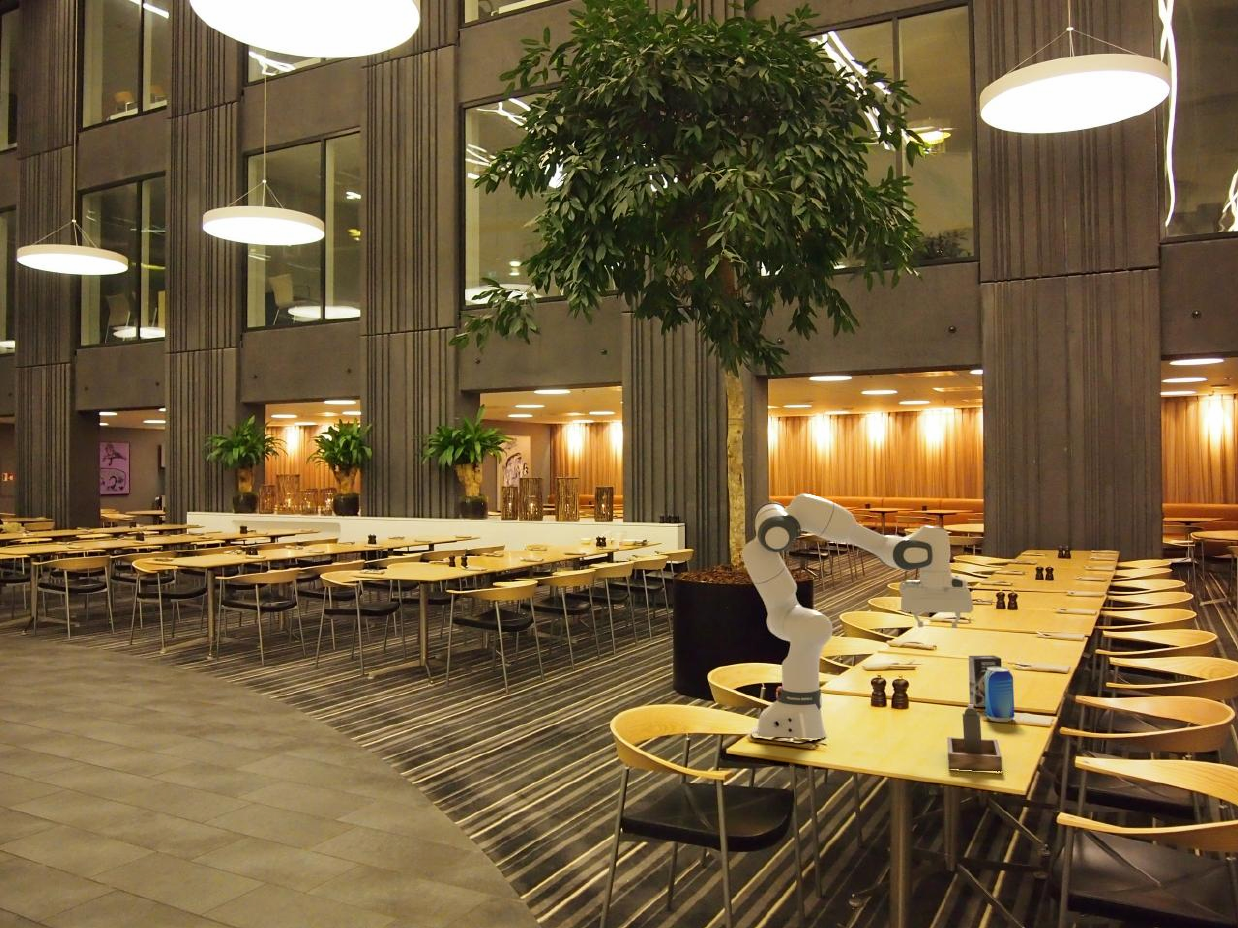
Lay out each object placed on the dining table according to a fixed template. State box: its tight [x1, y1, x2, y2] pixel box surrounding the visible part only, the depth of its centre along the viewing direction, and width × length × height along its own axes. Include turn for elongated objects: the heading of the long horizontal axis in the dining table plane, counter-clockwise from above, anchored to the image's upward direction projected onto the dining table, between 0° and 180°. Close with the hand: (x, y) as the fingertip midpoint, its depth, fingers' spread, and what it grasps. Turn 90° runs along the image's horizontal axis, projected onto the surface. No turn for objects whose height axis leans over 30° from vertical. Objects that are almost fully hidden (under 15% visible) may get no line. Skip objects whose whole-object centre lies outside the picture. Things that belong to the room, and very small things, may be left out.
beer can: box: [984, 666, 1015, 723], centre depth 293 cm, size 8×8×16 cm
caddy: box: [946, 736, 1003, 772], centre depth 249 cm, size 13×16×4 cm
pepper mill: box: [962, 703, 982, 754], centre depth 249 cm, size 4×4×15 cm
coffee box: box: [968, 654, 1002, 708], centre depth 311 cm, size 9×6×16 cm
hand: (937, 627), depth 272 cm, fingers open, 8 cm apart
